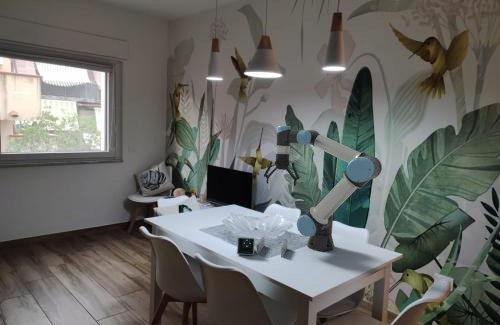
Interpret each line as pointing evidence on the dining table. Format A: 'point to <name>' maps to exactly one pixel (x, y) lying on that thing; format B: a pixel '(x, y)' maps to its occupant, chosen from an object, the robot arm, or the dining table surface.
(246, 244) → the flower pot
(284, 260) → the dining table surface
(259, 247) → the grey holder
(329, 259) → the dining table surface
